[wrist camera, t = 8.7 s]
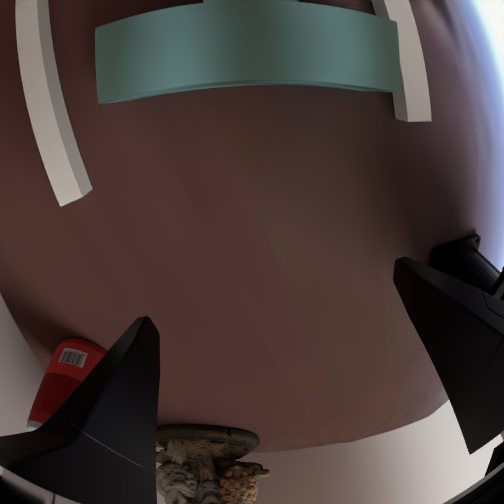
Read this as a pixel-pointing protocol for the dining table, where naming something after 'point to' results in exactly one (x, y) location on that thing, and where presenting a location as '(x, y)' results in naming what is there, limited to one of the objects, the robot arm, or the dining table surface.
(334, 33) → the T block
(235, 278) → the dining table surface
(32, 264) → the dining table surface
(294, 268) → the dining table surface
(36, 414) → the red tapered cylinder
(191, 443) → the khaki lumpy piece
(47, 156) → the outline
